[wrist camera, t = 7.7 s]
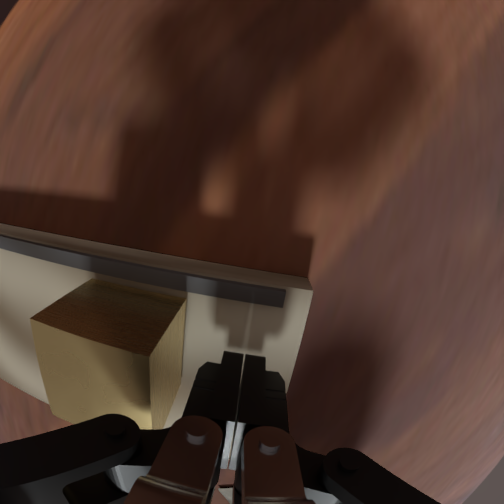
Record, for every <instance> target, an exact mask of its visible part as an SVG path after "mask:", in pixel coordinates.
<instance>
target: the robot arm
mask: <svg viewBox="0 0 504 504" xmlns="http://www.w3.org/2000/svg"><path fill="white" fill-rule="evenodd" d="M243 357H244V354H242V353H236V352H230V351H224V352H223V356H222V360H221V364H219V363H213V362H208V361H207V362H206V363H204V364H203V365H202V366H201V367H200V368H198V371H197V374H196V377H195V380H194V383H193V386H192V388H191V391H190V394H189V397H188V400H187V403H186V406H185V409H184V412H183V415H182V417H181V418H180V419H178V420H176V421H175V422H174V423H173V424H172V426H171V427H168V428H165V429H156V430H153V429H140V428H139V426H138V424H137V423H136V422H135V421H134V420H132V419H131V418H129V417H127V416H125V415H121V414H105V415H102V416H99V417H96V418H93V419H90V420H87V421H83V422H80V423H77V424H74V425H71V426H67V427H64V428H61V429H57V430H54V431H50V432H47V433H43V434H39V435H36V436H32V437H28V438H24V439H20V440H15V441H11V442H7V443H2V444H0V504H211V501H212V497H213V493H214V490H215V485H216V484H217V482H218V480H219V474H220V468H224V469H227V464H228V459H229V453H230V448H231V442H232V448H231V456H230V463H229V469H231V470H236V471H235V480H234V485H233V490H232V504H441V503H439V502H437V501H435V500H434V499H432V498H430V497H429V496H427V495H425V494H424V493H422V492H420V491H419V490H417V489H416V488H414V487H412V486H411V485H409V484H408V483H406V482H405V481H403V480H401V479H400V478H398V477H397V476H395V475H394V474H392V473H391V472H389V471H388V470H386V469H385V468H383V467H382V466H380V465H379V464H378V463H376V462H375V461H373V460H372V459H370V458H369V457H368V456H366V455H365V454H363V453H362V452H360V451H358V450H355V449H351V448H338V449H335V450H332V451H330V452H329V453H328V454H327V455H326V456H325V455H321V454H317V453H313V452H310V451H307V450H305V449H303V448H301V447H299V446H298V445H297V444H296V443H295V441H294V439H293V438H292V437H291V435H290V434H289V427H288V414H287V401H286V393H285V392H286V389H285V381H284V379H283V378H282V376H281V375H280V374H279V372H275V371H267V370H266V357H264V356H256V355H249V354H245V360H244V365H243ZM242 365H243V371H242ZM241 373H242V377H241ZM240 381H241V383H240ZM233 431H234V433H233ZM232 437H233V440H232Z"/></svg>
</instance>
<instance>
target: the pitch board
mask: <svg viewBox="0 0 504 504" xmlns="http://www.w3.org/2000/svg"><path fill="white" fill-rule="evenodd" d="M91 278H93V279H98V280H102V281H106V282H111V283H115V284H119V285H124V286H128V287H133V288H137V289H142V290H147V291H152V292H156V293H161V294H166V295H171V296H176V297H181V298H187V301H186V312H185V325H184V339H183V354H182V372H181V385H180V387H179V390H178V392H177V395H176V397H175V400H174V402H173V405H172V407H171V410H170V412H169V415H168V418H167V420H166V423H165V425H164V428H163V429H165V428H168V427H171V426H172V424H173V423H174V422H175V421H176V420H178V419H180V418H181V417H182V415H183V412H184V409H185V406H186V403H187V400H188V397H189V394H190V391H191V388H192V386H193V383H194V380H195V377H196V374H197V371H198V368H200V367H201V366H202V365H203V364H204V363H206V362H207V361H208V362H213V363H219V364H221V360H222V356H223V352H224V351H230V352H236V353H242V354H244V357H243V365H244V360H245V354H249V355H256V356H264V357H266V370H267V371H275V372H279V374H280V375H281V376H282V378H283V379H284V381H285V389H286V392H285V393H287V390H288V387H289V383H290V380H291V376H292V373H293V369H294V365H295V362H296V358H297V354H298V351H299V347H300V343H301V339H302V335H303V332H304V328H305V324H306V320H307V316H308V312H309V307H310V303H311V299H312V295H313V289H312V286H311V284H310V282H309V279H308V278H304V277H298V276H292V275H285V274H279V273H273V272H267V271H261V270H254V269H248V268H242V267H236V266H230V265H224V264H218V263H212V262H206V261H200V260H195V259H189V258H183V257H177V256H172V255H166V254H160V253H155V252H149V251H143V250H138V249H132V248H127V247H121V246H116V245H110V244H105V243H99V242H94V241H89V240H83V239H78V238H73V237H68V236H62V235H57V234H52V233H47V232H42V231H37V230H32V229H27V228H22V227H17V226H12V225H7V224H2V223H0V378H1V379H3V380H5V381H6V382H8V383H10V384H11V385H13V386H15V387H17V388H19V389H20V390H22V391H24V392H26V393H28V394H30V395H32V396H33V397H35V398H37V399H39V400H41V401H43V402H45V403H48V404H49V401H48V398H47V395H46V391H45V388H44V384H43V380H42V376H41V372H40V368H39V364H38V359H37V355H36V350H35V345H34V340H33V335H32V329H31V323H30V318H31V317H32V316H34V315H35V314H37V313H38V312H40V311H41V310H43V309H44V308H46V307H48V306H49V305H51V304H52V303H54V302H55V301H57V300H58V299H60V298H61V297H63V296H64V295H66V294H68V293H69V292H71V291H72V290H74V289H75V288H77V287H79V286H80V285H82V284H83V283H85V282H87V281H88V280H90V279H91ZM243 365H242V371H243ZM241 377H242V373H241ZM240 383H241V381H240ZM233 433H234V431H233ZM232 440H233V437H232ZM231 448H232V442H231ZM231 448H230V453H229V459H230V456H231Z"/></svg>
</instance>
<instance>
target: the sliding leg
mask: <svg viewBox="0 0 504 504" xmlns="http://www.w3.org/2000/svg"><path fill="white" fill-rule="evenodd" d="M186 301H187V298H181V297H176V296H171V295H166V294H161V293H156V292H152V291H147V290H142V289H137V288H133V287H128V286H124V285H119V284H115V283H111V282H106V281H102V280H98V279H93V278H91V279H90V280H88V281H87V282H85V283H83V284H82V285H80V286H79V287H77V288H75V289H74V290H72V291H71V292H69V293H68V294H66V295H64V296H63V297H61V298H60V299H58V300H57V301H55V302H54V303H52V304H51V305H49V306H48V307H46V308H44V309H43V310H41V311H40V312H38V313H37V314H35V315H34V316H32V317H31V318H30V323H31V329H32V335H33V340H34V345H35V350H36V355H37V359H38V364H39V368H40V372H41V376H42V380H43V384H44V388H45V391H46V395H47V398H48V401H49V405H50V408H51V411H52V414H53V415H55V416H57V417H59V418H62V419H64V420H66V421H68V422H70V423H73V424H77V423H80V422H83V421H87V420H90V419H93V418H96V417H99V416H102V415H105V414H121V415H125V416H127V417H129V418H131V419H132V420H134V421H135V422H136V423H137V424H138V426H139V428H140V429H153V430H156V429H163V428H164V425H165V423H166V420H167V418H168V415H169V412H170V410H171V407H172V405H173V402H174V400H175V397H176V395H177V392H178V390H179V387H180V385H181V372H182V354H183V339H184V325H185V312H186Z"/></svg>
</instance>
